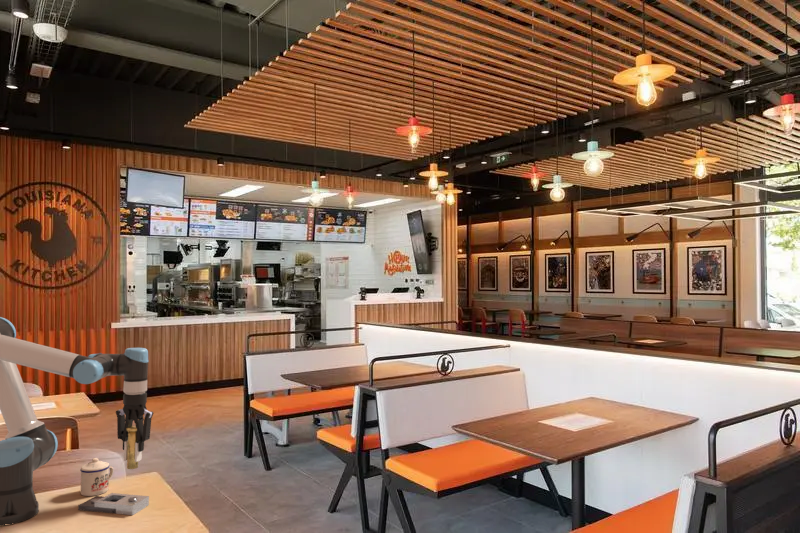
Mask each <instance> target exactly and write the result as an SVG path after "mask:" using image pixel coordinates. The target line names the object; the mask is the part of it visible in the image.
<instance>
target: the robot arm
mask: <svg viewBox="0 0 800 533" xmlns="http://www.w3.org/2000/svg"><path fill="white" fill-rule="evenodd" d="M18 365H20V366H24V367H27V368H31V369H36V370H39V371H43V372H47V373H52V374H56V375H59V376H63V377H67V378H72V379H73V380H75V381H76V382H77V383H79V384H82V385H89V384H93V383H95V382H98V381H99V380H101V379H103V378H107V377H109V376H110V377H112V376H113V377H114V376H116V377H117V376H123V388H122V389H123V391H122V392H123V396H122V405H123V407H122V408H121V409H117V410H115V414H116V420H117V422H116V424H117V426H116V428H117V432H116V433H117V434H116V435H117V439H118V440H121V441H122V450H123V461H125V462H127V449H128V431H126V427H127V428H128V427H130V426H133V424H135V425H136V428H137V431H136V433H137V442H136V443H135V462H137V461H138V462H139V461H141V460H142V459H143V451H144V449H145V441H148V440H150V438H151V428H152V418H153V416H154V411H152V410H151V411H150V410H148V409H147V406H146V405H147V400H148V393H147V391H148V374H149V373H148V372H149V350H148V349H147V348H145V347H128V348H126V349H125V350H124V353H102V352H99V353H92V354H89V355H88V356H86V355H82V354H77V353H74V352H71V351H67V350H62V349H59V348H55V347H52V346H47V345H43V344H38V343H35V342H32V341H28V340H24V339H19V338H17V330H16V328H15V326H14V324H13V323H12V322H11V321H10V320H9V319H7V318H4V317H2V316H0V413H1V415H2V418H3V420H4V423H5V426H6V429H7V433H6V435H5V437H4V439H2V440H0V525H4V526H6V525H5V524H10V525H13V524H12V523H14V524H19V523H21V522H25V521H27V520H30V519H31V518H33V517H35V516H36V515H37V514H38V513H39V506H40V505H39V501H38V500H37V497H36V493H35V492H34V487H33V481H34V480H33V479H34V476H33V475H34V471H36V470H37V469H39V468H40V467H42V466H44V465H46V464H47V463H48V462H49V461H50V460H51V459H53V457H54V456H55V454H56V452H57V451H58V447H59V446H58V445H59V444H58V438H57V436H56V434H55V433H54V432H53V431H51V430H49V429H47V426H46V424H45V422H44V421H41V420H38V418H37V415H36V413H35V410H34V408H33V405H32V402H31V400H30V397H29V394H28V392H27V389H26V387H25V384H24V381H23V378H22V376H21V373H20V371H19V368H18Z"/></svg>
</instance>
